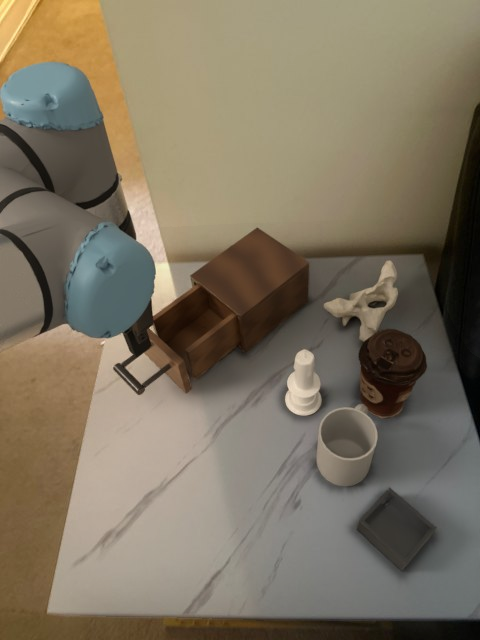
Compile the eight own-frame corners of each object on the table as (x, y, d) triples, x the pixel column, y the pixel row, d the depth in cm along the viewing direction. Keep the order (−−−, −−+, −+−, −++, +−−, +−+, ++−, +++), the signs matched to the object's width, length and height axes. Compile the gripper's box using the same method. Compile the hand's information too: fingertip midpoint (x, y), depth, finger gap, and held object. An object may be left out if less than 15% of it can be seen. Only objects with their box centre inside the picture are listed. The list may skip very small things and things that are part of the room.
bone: (326, 329, 92) (320, 296, 86) (370, 273, 98) (367, 239, 92) (375, 350, 87) (372, 317, 81) (418, 290, 93) (418, 255, 87)
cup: (307, 473, 76) (309, 444, 69) (336, 414, 81) (340, 382, 74) (357, 497, 74) (364, 470, 67) (384, 434, 79) (393, 403, 72)
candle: (284, 384, 85) (284, 338, 76) (320, 384, 85) (324, 337, 75) (285, 416, 82) (284, 372, 72) (322, 416, 81) (326, 371, 72)
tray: (401, 571, 68) (406, 564, 65) (356, 529, 71) (358, 520, 69) (431, 536, 70) (436, 527, 68) (385, 496, 74) (389, 486, 71)
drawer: (153, 420, 82) (142, 393, 76) (112, 377, 87) (99, 349, 81) (251, 340, 89) (248, 310, 83) (208, 305, 94) (202, 274, 88)
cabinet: (245, 353, 89) (240, 316, 81) (197, 313, 95) (189, 275, 87) (308, 301, 94) (309, 262, 87) (259, 266, 100) (257, 227, 92)
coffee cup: (361, 431, 80) (372, 383, 69) (343, 382, 85) (350, 330, 74) (420, 417, 80) (439, 368, 70) (398, 369, 85) (413, 317, 75)
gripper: (160, 229, 57) (192, 359, 75) (88, 175, 63) (134, 307, 81) (99, 269, 54) (148, 394, 72) (30, 208, 60) (91, 338, 79)
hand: (140, 348), depth 77 cm, fingers closed
